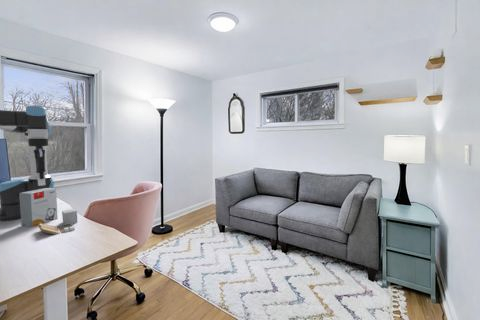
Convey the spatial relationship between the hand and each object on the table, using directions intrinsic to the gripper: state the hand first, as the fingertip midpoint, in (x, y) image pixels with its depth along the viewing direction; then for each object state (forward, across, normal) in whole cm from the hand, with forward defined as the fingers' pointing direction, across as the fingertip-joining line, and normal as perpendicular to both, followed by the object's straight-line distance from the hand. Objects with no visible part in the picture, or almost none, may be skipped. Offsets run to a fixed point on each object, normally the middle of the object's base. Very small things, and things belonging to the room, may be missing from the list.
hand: (41, 185), depth 120 cm
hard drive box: (+27, -24, 0) cm, 36 cm away
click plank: (+24, -2, +1) cm, 24 cm away
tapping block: (+27, -11, +12) cm, 31 cm away
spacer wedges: (+25, +3, +9) cm, 27 cm away
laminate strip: (+26, -2, +9) cm, 28 cm away
